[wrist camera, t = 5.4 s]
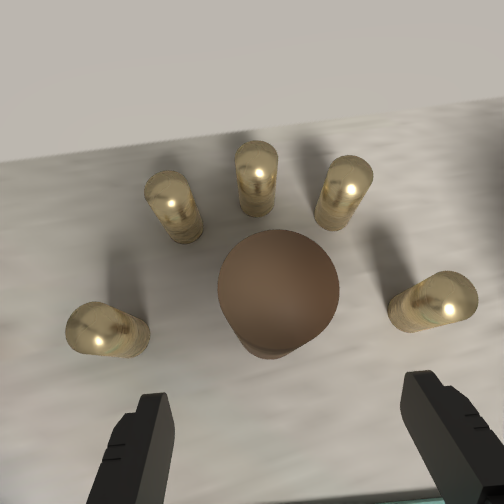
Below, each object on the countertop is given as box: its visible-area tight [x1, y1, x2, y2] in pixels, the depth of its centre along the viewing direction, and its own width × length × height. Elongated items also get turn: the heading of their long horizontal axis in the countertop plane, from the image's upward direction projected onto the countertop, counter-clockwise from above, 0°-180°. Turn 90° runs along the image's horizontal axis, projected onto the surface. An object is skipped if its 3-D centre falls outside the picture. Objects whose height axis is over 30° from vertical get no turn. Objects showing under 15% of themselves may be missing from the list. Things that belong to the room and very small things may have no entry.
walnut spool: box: [218, 230, 339, 359], centre depth 16 cm, size 4×4×10 cm
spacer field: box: [65, 141, 478, 358], centre depth 19 cm, size 19×11×5 cm, turn 95°
